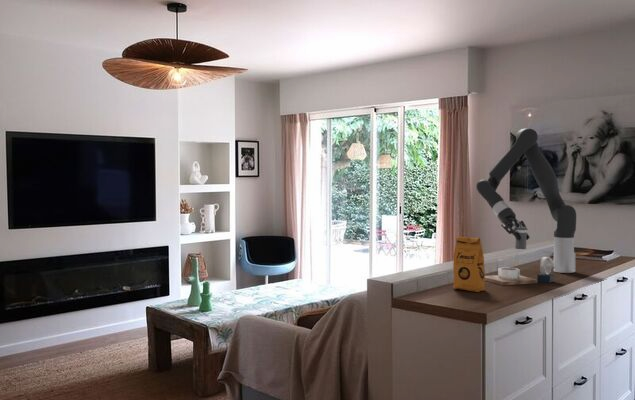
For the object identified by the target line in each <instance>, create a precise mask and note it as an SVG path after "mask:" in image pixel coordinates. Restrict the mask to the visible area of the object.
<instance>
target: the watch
mask: <svg viewBox="0 0 635 400" xmlns="http://www.w3.org/2000/svg"><path fill="white" fill-rule="evenodd" d="M553 268H554V259H553V258H551V257H548V256H542V257H541V259H540V262H539V270H540V273H538V274H537V277H536V279H537V282H538V283H539V282H540V283H541V282H542V283H549V284H551V283H553V282H554V277H555V276H554V275H555V274H551V272H552V269H553Z"/></svg>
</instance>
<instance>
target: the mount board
mask: <svg viewBox="0 0 635 400" xmlns="http://www.w3.org/2000/svg"><path fill="white" fill-rule="evenodd" d="M485 282H489V283H493V284H497V285H499V286H512V285H513V286H515V285H528V284H538V281H537V278H532V277H527V276H524V275H520V279H516V280H507V279H500V278H498V274H497V275H496V274H495V275H494V274H493V275H485Z"/></svg>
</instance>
